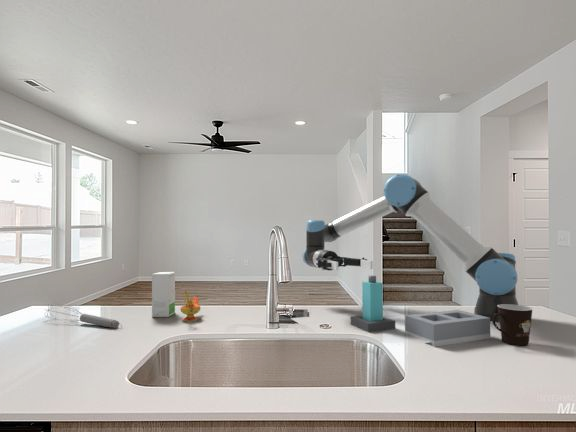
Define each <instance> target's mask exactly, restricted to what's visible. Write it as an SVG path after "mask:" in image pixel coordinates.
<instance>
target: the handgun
mask: <svg viewBox="0 0 576 432" xmlns="http://www.w3.org/2000/svg"><path fill="white" fill-rule="evenodd" d="M293 309H294V311H293V316H292V317H290V316H289V315H288V314H287V315H279V322H280V323H279V324H298V322H297V321H296V320H294V319H297V318H308V315H309V313H308V309H306V308H304V309H303V308H302V309H300V308H298V309H297V308H293Z"/></svg>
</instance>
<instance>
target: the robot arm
mask: <svg viewBox="0 0 576 432" xmlns="http://www.w3.org/2000/svg"><path fill="white" fill-rule="evenodd" d="M383 194H384V195H383V196H380V197H379V198H377V199H375V200H372V201H371V202H369V203H367V204H364V205H363V206H361V207H359V208H357V209H355V210H352V211H351V212H348V213H347V214H345V215H342V216H340V217H338V218H337V219H335V220H333V221H331V222H329V223H326V224H325V220H323V219H321V220H320V219H319V220H317V219H309V220H307V221H306V229H305V230H306V237H305V238H306V241H305V243H306V247H305V250H304V251H303V253H302V256H301V257H302V260H303V262H304V263H305V264H306V265H308V266H309V267H313V268H318V269H321V271H333V270H335V271H339V267H347V266H351V267H360V268H364V269H369V270H373V265H374V264H373V260H368V259H367V258H365V257H362V258H355V257H354V258H353V257H346V256H339V255H338V254H337V253H336V252H335V251H332V250H328V249H325V243H331V242H335V241H336V240H338V239H339V238H340V237H342V236H344V235H347V234H349V233H351V232H354V231H355V230H357V229H359V228H361V227H364V226H366V225H368V224H370V223H372V222H374V221H376V220H378V219H381V218H383V217H385V216H388V215H389V214H391V213H395V214H396V213H400V212H401V213H402V214H403V215H404V216H406V217H412V218H414V219H415V220H416V221H417V222H418V224H420V225H421V226H422V227H424V229H425V230H427V231H428V232H429V233H430V234H431V236H433V237H434V238H435V239H436V240H437V241H438V242H439V243H441V244H442V245H443V246H444V247H445V248H446V249H448V251H449V252H450V253H452V254H453V255H454V256H455V257H456V258H457V259H458V260H459V261H460V262H462V263H463V265H464V272H465V273H466V274H468V275H469V277H471V278H472V280H474V282H476V284H477V286H478V287H479V288H478V289H479V290H478V291H479V295H478V298H477V301H476V304H475V307H474V309H473V310H474V311H473V314H477V315H481V316H484V317H488V318H490V321H493V316H494V315H495V314H497V313H498V308H497V305H501V304H512V305H519V302H518V300H517V295H516V292H517V287H516V285H517V282H518V272H517V270H516V263H517V261H516V257H515V256H516V255H514V254H513V253H508V252H507V253H506V252H497V251H496V250H495V249H494V248H493V247H491V246H484V245H482V244H481V243H480V242H479V241H478V240H477V239H475V238H474V236H472V235H471V234H470V233H468V231H466V230H465V229H464V228H463V226H461V225H459V224H458V223H457V222H456V221H455V220H454V219H453V218H452V217H450V216H449V215H448V213H446V212H445V211H444V210H442V209H441V208H440V206H438V205H437V204H436V203H435V202H434V201H432V200H431V199H430V197H431V196H430V192H429V191H428V190H427V189H425V188H424V187H423V186H422V184H421V182H419V181H418V180H417V179H415V178H413V177H412V176H411V175H408V174H404V173H403V174H402V173H399V174H395V175H392V176H391V177H389V178H388V180H387V181H386V182H385V184H384V187H383ZM495 322H499V315H498V316H497V317H496V318H495Z"/></svg>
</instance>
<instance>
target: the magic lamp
mask: <svg viewBox="0 0 576 432" xmlns="http://www.w3.org/2000/svg"><path fill="white" fill-rule="evenodd" d="M183 293H184V295H185V298H184V305H183V306H180V312H181V313H182V314H184V315H185V316H186V317H185V318H182V321H185V322H192V321H193V322H194V321H197V320H199V318H198V317H196V316H195V315H196V314H198V313H199V312H200V310H201V305H199V304H200V303H199V301H200V299H199V298H200V295H199V294H196V295H194V297H193V298H192V299H191V298H189V297H190V294H189V291H188V290H185V291H184V292H183Z"/></svg>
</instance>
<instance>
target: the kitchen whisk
mask: <svg viewBox="0 0 576 432" xmlns="http://www.w3.org/2000/svg"><path fill="white" fill-rule="evenodd" d="M61 304H63V305H66V306H62V305H59V304H58V307H59V308H64V309H68V310H70V311H71V312H73V313H75V312H76V313H78V315H80V316H77V315H74V314H69V313H64V312H60V311H55V310H52V309H51V307H50V306H54V305H55V307H53V309H54V308H55V309H56V308H57V302H56V303H55V302H54V303H51V304H49V305H48V306H47V308H48V309H46V308H44V311H45V313H44V316H45V317H46V318H49V319H51V317H49V315H48V314H50V315H52V313H51V312H53V313H58V314H63V315H67V316H70V317H77V318H79V319H75V320H71V323H74V322H79V321H80V322H82V323H85V324H91V325H96V326H98V327H99V326H100V327H105V328H108V327H109V328H108V329H118V328H119V325H120V328H123V325H122V324H121V323H120V322H119V321H118V320H116V319H112V318H107V317H103V316H102V317H101V316H97V315H94V314H93V315H92V314H88V313H82V312H80V311H79V310H77V309H76V308H75V307H72V306H71V305H69V304H67V303H64V302H61ZM67 306H69V307H67ZM46 314H47V315H46ZM56 318H57V317H55V318H54V317H52V319H54V320H57V319H56Z"/></svg>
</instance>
